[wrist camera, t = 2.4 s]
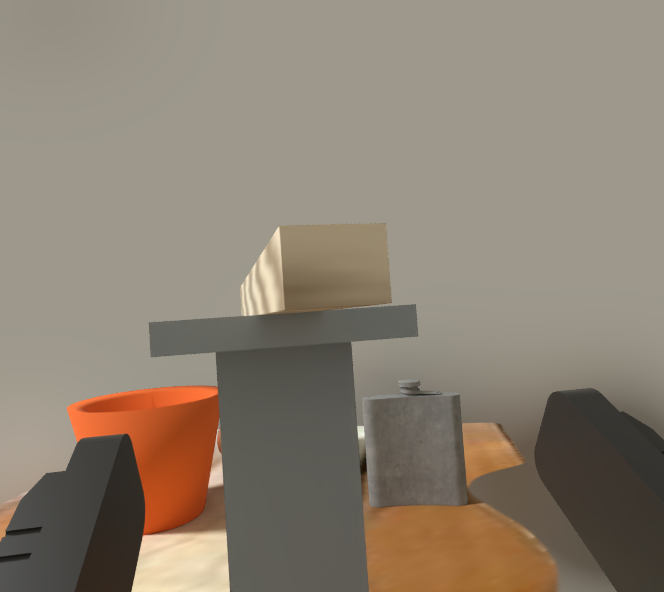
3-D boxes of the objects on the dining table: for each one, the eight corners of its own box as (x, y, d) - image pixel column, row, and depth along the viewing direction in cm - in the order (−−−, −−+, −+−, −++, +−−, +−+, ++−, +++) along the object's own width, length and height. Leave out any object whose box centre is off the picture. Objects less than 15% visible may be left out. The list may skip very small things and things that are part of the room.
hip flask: (369, 507, 80) (360, 384, 81) (370, 498, 84) (362, 381, 85) (469, 505, 78) (459, 379, 79) (465, 496, 82) (456, 376, 83)
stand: (456, 836, 30) (415, 304, 31) (180, 900, 27) (148, 322, 28) (369, 606, 53) (348, 310, 54) (218, 629, 51) (200, 321, 52)
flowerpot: (152, 561, 67) (144, 415, 68) (37, 535, 78) (32, 410, 79) (259, 495, 89) (252, 385, 90) (158, 482, 100) (153, 385, 101)
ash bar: (391, 303, 18) (385, 222, 18) (284, 310, 17) (279, 225, 17) (282, 315, 49) (280, 285, 50) (242, 317, 49) (240, 287, 49)
